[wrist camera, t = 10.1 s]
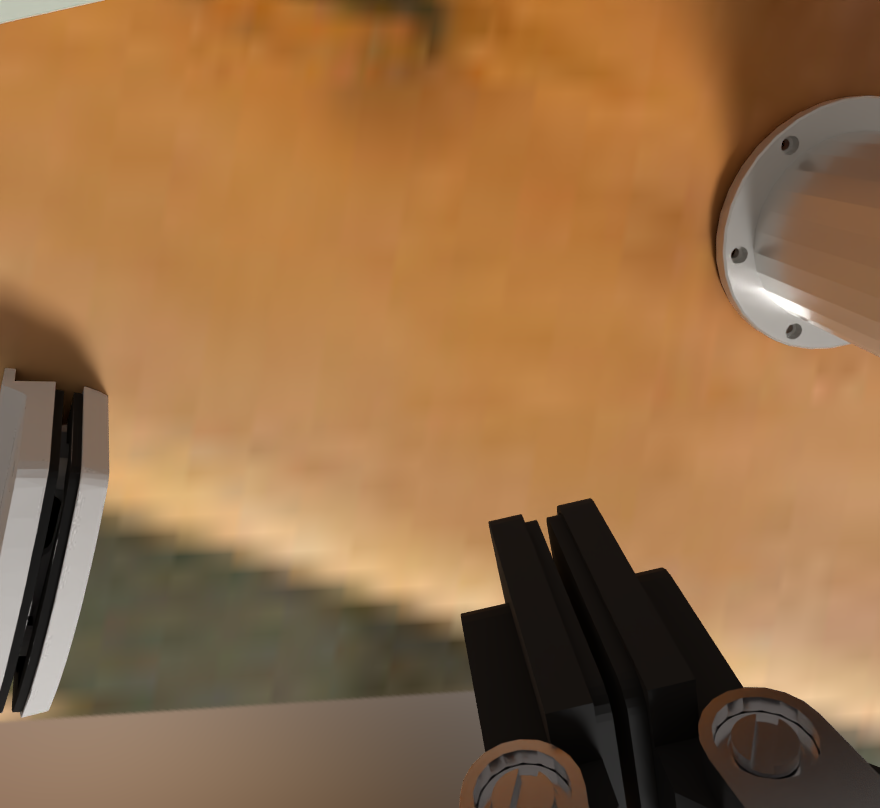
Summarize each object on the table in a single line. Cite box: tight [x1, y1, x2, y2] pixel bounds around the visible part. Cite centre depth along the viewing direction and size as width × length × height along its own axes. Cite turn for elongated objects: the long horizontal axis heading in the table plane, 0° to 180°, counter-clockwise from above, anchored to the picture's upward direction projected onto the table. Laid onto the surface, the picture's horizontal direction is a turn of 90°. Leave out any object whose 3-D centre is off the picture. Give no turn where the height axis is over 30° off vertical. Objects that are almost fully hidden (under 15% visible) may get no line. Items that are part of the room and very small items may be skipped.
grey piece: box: [0, 368, 109, 717], centre depth 36 cm, size 17×5×10 cm, turn 158°
